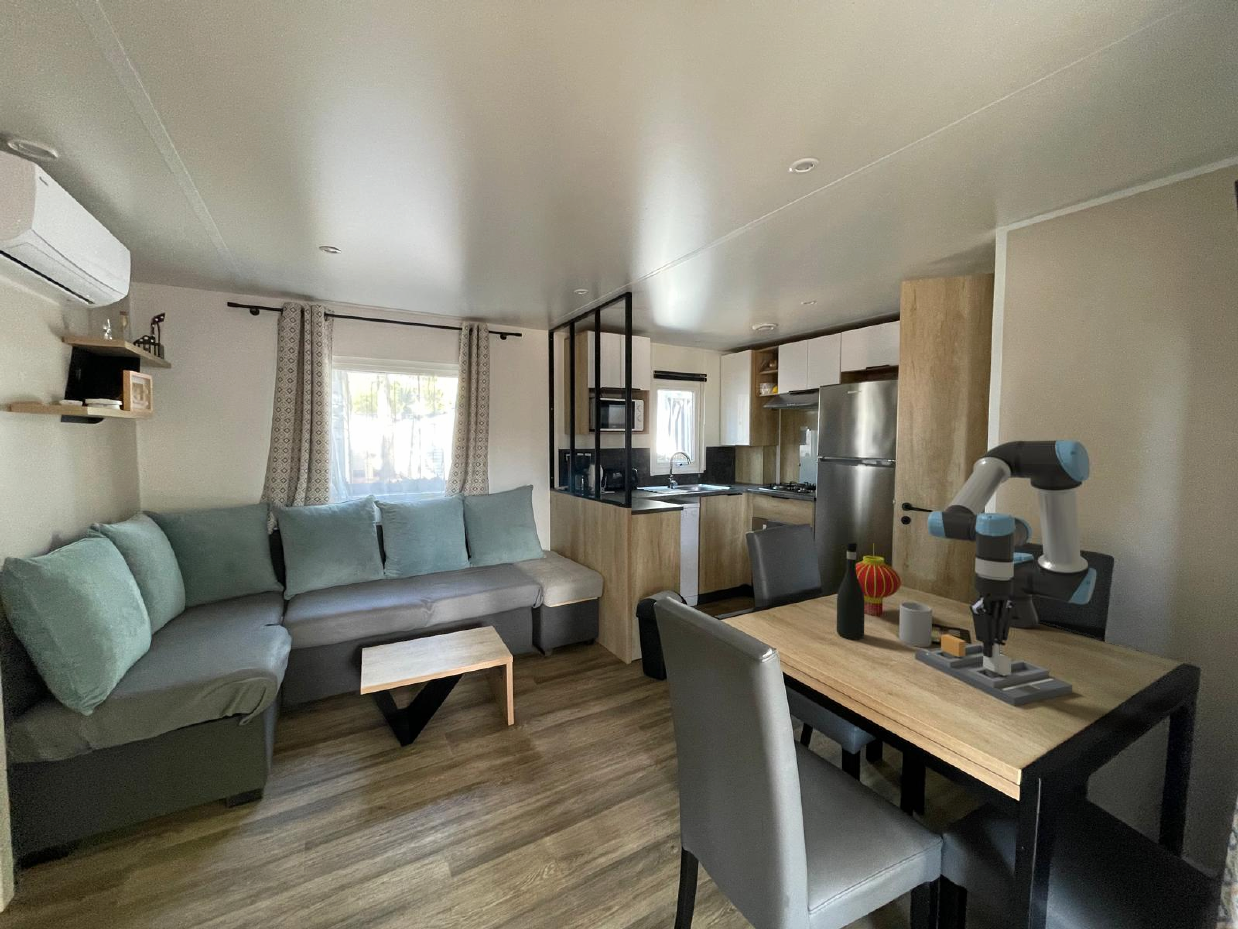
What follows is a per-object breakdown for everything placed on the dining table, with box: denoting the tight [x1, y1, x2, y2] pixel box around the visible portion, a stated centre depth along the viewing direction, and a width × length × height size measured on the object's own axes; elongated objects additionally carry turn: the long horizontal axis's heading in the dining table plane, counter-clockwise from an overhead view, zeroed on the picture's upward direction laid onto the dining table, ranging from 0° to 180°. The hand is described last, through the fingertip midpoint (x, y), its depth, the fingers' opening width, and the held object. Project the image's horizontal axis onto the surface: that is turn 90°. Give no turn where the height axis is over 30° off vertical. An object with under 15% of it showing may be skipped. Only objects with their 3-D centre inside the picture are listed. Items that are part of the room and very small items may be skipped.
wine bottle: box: [836, 541, 865, 640], centre depth 152 cm, size 8×8×30 cm
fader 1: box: [940, 633, 967, 659], centre depth 130 cm, size 3×5×6 cm, turn 17°
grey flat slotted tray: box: [914, 642, 1073, 707], centre depth 126 cm, size 20×26×4 cm
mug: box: [898, 601, 933, 648], centre depth 149 cm, size 12×8×11 cm
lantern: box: [856, 544, 902, 617], centre depth 172 cm, size 17×17×30 cm
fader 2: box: [983, 654, 1012, 678], centre depth 120 cm, size 3×5×6 cm, turn 17°
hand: (990, 668), depth 120 cm, fingers closed
